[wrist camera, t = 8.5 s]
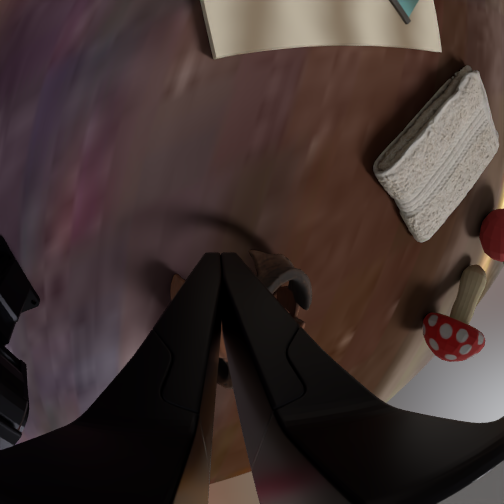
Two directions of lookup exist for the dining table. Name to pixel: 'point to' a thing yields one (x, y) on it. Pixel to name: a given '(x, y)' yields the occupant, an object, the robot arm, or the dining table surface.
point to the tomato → (493, 235)
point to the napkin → (318, 24)
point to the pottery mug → (272, 276)
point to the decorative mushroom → (458, 321)
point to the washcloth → (439, 154)
